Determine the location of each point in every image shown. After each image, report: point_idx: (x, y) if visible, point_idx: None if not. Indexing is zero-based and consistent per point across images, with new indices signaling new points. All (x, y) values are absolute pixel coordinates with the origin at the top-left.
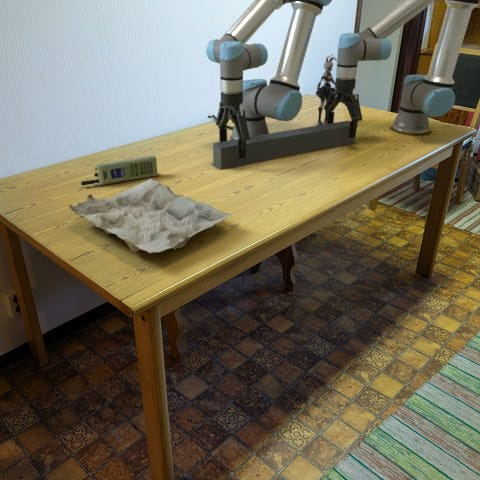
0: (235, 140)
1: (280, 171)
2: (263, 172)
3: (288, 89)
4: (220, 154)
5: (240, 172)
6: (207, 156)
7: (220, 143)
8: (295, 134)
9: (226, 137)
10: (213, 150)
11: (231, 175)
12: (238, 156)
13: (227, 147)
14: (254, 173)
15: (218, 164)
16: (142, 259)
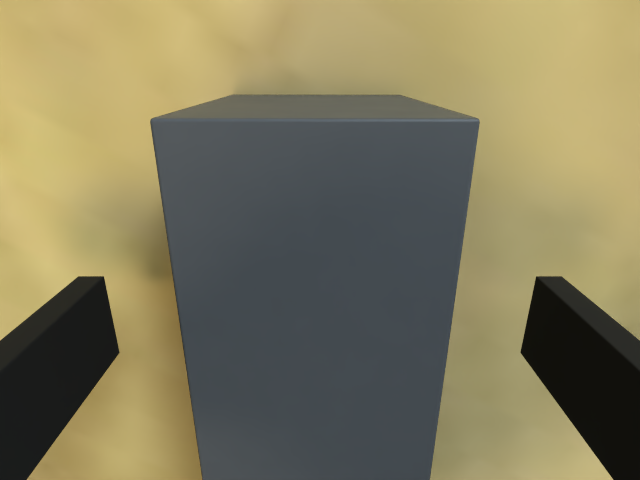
0: (386, 461)
1: None
2: None
3: None
4: (195, 107)
5: (91, 219)
6: (611, 139)
7: (384, 231)
8: None
9: (581, 424)
10: (426, 107)
11: (41, 111)
12: (73, 289)
13: (170, 249)
14: (38, 305)
15: (278, 96)
16: None
